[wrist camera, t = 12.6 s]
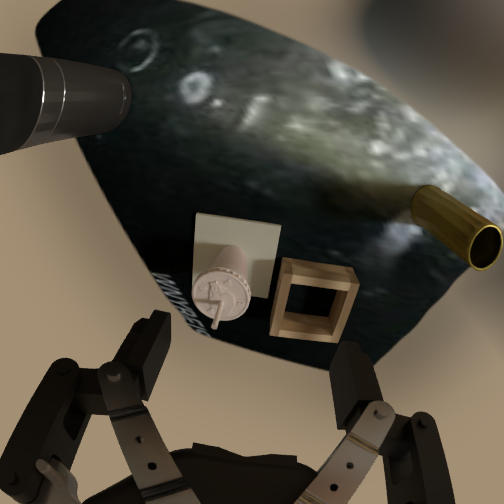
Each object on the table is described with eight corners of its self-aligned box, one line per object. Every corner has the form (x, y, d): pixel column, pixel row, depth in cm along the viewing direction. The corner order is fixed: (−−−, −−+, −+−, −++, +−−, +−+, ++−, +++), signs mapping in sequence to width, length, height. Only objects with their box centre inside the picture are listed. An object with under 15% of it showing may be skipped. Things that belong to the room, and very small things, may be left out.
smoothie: (219, 283, 42) (196, 351, 29) (202, 243, 40) (168, 301, 27) (263, 272, 41) (255, 341, 28) (247, 230, 38) (231, 287, 25)
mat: (193, 284, 43) (192, 286, 42) (197, 212, 38) (196, 213, 38) (267, 296, 43) (267, 298, 42) (280, 224, 38) (280, 226, 38)
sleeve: (270, 316, 44) (269, 335, 40) (282, 257, 40) (283, 273, 36) (333, 323, 44) (337, 342, 40) (352, 267, 40) (359, 284, 36)
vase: (440, 229, 36) (495, 276, 23) (406, 224, 37) (457, 274, 24) (449, 188, 34) (512, 223, 21) (414, 181, 34) (474, 215, 21)
